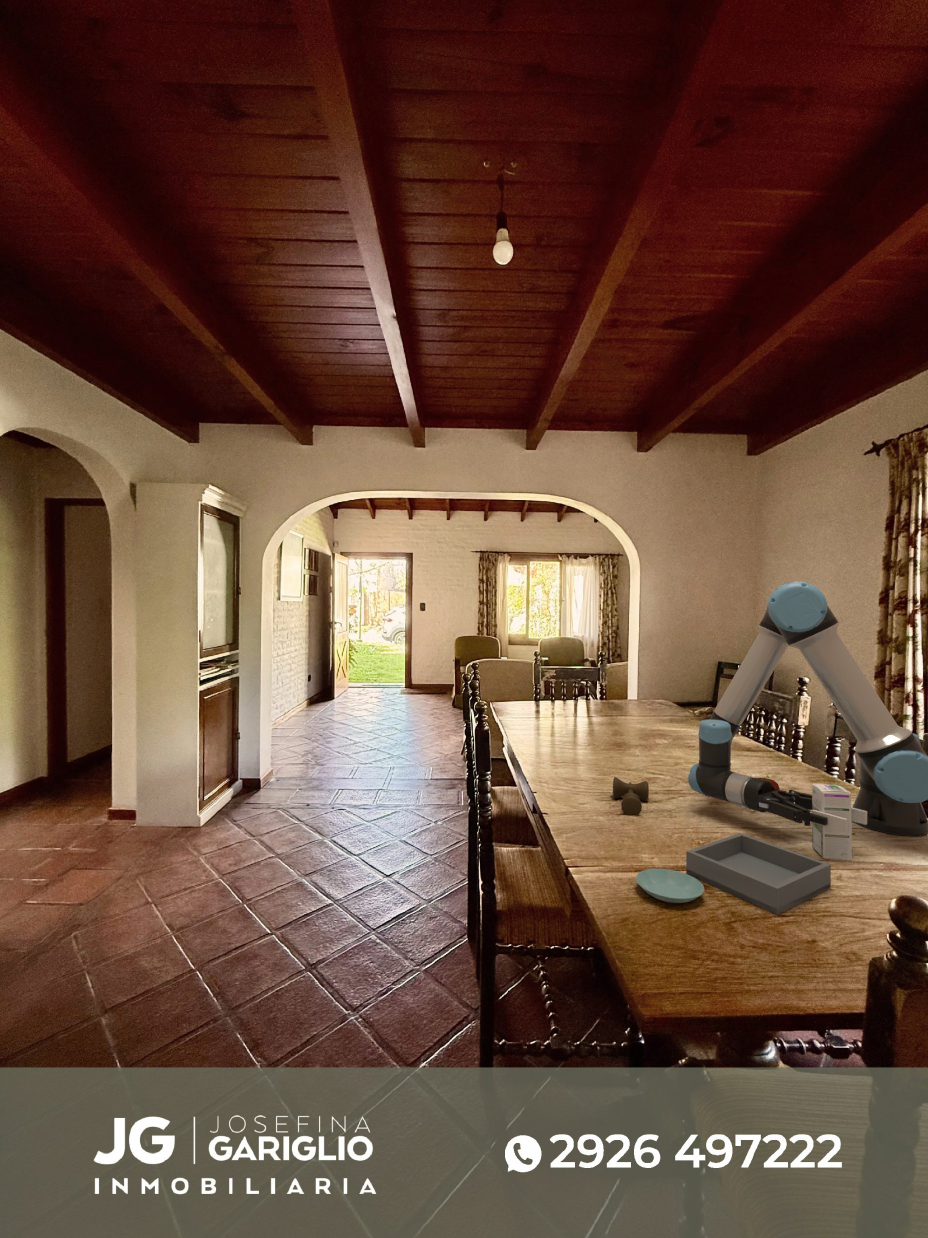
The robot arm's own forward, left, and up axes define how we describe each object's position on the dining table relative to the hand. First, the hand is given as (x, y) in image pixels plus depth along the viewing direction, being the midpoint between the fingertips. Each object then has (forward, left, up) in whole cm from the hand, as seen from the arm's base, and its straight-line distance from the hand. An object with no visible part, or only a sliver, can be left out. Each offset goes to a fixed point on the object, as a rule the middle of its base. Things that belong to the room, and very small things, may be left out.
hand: (856, 822), depth 116 cm
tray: (+22, +14, -9) cm, 28 cm away
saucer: (+39, +23, -9) cm, 46 cm away
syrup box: (+3, -3, -9) cm, 10 cm away
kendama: (+43, -28, -9) cm, 52 cm away
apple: (+8, -34, -9) cm, 37 cm away
